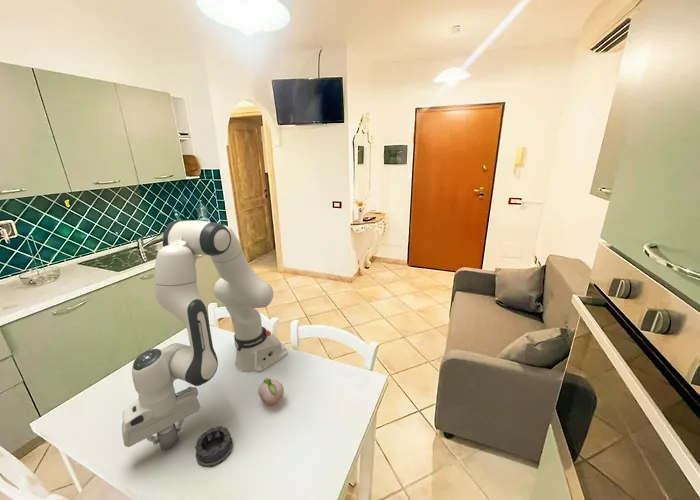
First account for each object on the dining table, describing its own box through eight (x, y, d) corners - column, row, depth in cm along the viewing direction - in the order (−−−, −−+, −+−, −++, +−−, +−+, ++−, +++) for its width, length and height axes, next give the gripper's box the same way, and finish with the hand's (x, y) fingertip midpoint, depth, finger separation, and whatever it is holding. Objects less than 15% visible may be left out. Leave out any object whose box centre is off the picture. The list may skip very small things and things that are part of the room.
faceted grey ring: (226, 428, 98) (224, 419, 96) (238, 451, 90) (236, 441, 89) (192, 448, 91) (189, 438, 90) (202, 474, 84) (199, 464, 82)
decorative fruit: (289, 402, 108) (287, 380, 105) (270, 416, 102) (267, 393, 99) (275, 389, 114) (273, 368, 111) (256, 402, 108) (253, 380, 105)
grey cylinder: (176, 432, 96) (173, 417, 94) (180, 443, 93) (176, 428, 91) (159, 442, 93) (154, 427, 91) (162, 453, 90) (158, 438, 88)
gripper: (193, 378, 97) (200, 411, 101) (115, 413, 84) (127, 449, 88) (199, 389, 92) (206, 423, 96) (117, 428, 79) (130, 465, 84)
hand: (168, 436), depth 92 cm, fingers closed on grey cylinder, 5 cm apart
